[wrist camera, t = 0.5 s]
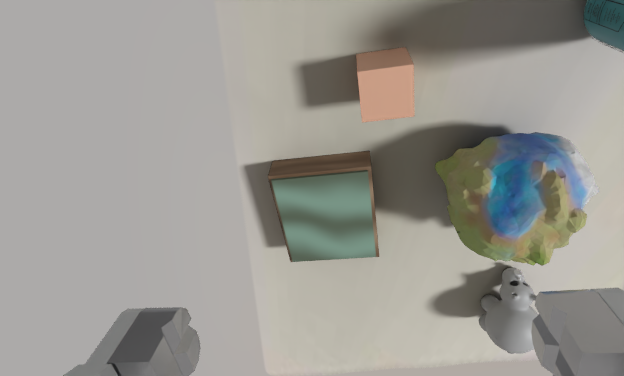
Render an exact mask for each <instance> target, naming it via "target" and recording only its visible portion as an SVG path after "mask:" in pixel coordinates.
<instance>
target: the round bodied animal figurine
mask: <svg viewBox="0 0 624 376" xmlns="http://www.w3.org/2000/svg"><path fill="white" fill-rule="evenodd" d="M502 280H503V283H502V286H501V288H500V297H501V299H502V300H501V301H499V300H498V299H497V298H496V297H495V296H493V295H486V296H484V297H483V298H482V300H481V306H482V308H483V309H484V310H485V311H486V312H487V313H486V314H483V315H482V316H481V317H480V318H479V324H480V326H481V328H482V329H483V330H485V331H486V332H487V333H488V335H489V337H490V338H491V340H492V341H493V342H494V343H495V344H496V345H497V346H499V347H500V348H502V349H503V350H505V351H507V352H508V353H511V354H512V353H526V352H529V351H531V350H533V349H534V346H533V341H532V334H531V329H532V320H533V319H534V318H536V317H537V316H538V314H537V313H536V311H535V310H534V309H533V308H532V307H530V305H531V303H532V302H533V300H536V296H535V295H534V292H533V289H532V288H531V287H530V286H529V285H528V284H527V283H526V282H525V280H524V276H523V273H522V271H521V270H519V269H516V268H507V269H506V270H504V271H503V273H502Z"/></svg>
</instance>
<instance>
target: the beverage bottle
mask: <svg viewBox="0 0 624 376" xmlns="http://www.w3.org/2000/svg"><path fill="white" fill-rule="evenodd" d="M584 23H585V26H586V28H587V30H588V32H589V33H590V34H591V35H592V36H593V37H594V38H596V39H597V40H600V42H601V41H602V43H603V42H604V43H607V46H608V45H609V46H610V45H611V46H614V48H615V47H616V49H617V48H618V49H621V50H623V52H624V0H588V1H587V3H586V6H585V10H584ZM594 38H592V39H594ZM604 45H605V44H604ZM609 46H608V47H609ZM611 46H610V47H611ZM611 48H612V47H611ZM616 49H615V50H616ZM621 52H622V51H621Z"/></svg>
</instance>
